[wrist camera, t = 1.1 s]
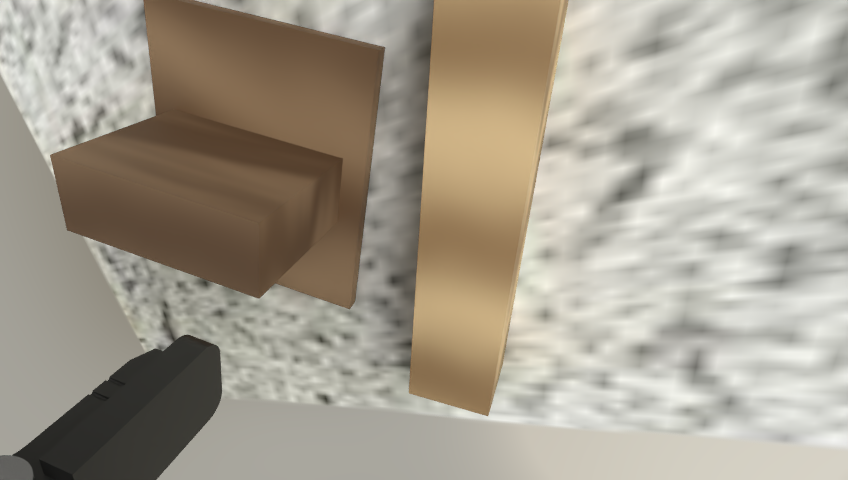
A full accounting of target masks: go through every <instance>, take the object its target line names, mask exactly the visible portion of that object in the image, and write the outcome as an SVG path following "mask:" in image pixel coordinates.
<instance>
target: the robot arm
mask: <svg viewBox="0 0 848 480" xmlns="http://www.w3.org/2000/svg"><path fill="white" fill-rule="evenodd" d="M221 395H222V382H221V362H220V350H219V347H218V346H216V345H214V344H211V343H209V342H206V341H203V340H201V339H198V338H196V337H193V336H191V335H184V336H181V337H180V338H178V339H177V340H176V341H175V342H173V343H172V344H171V345H170V346H169V347H168V348H167V349H165V350H164V351H160V350H158V349H153V350H151V351H149V352H147V353H145V354H143V355H140V356H138V357H136V358H134V359H132V360H130V361H129V362H127V363H126V364H125V365H124V366H122V367H121V368H120V369H119V370H117V371H116V372H115V373H114V374H113V375H111V376H110V378H109V380H108V381H104V382H103V383H102V384H100V385H99V386H98V387H97V388H96V389H94V390H93V392H92V394H91V395H87V396H86V397H85V398H83V399H82V400H81V401H80V402H79V403H77V404H76V405H75V406H74V407H73V408H71V409H70V410H69V411H68V412H66V413H65V414H64V415H63V416H62V417H60V418H59V419H58V420H57V421H56V422H54V423H53V424H52V425H51V426H49V427H48V428H47V429H46V430H45V431H43V432H42V433H41V434H40V435H39V436H37V437H36V438H35V439H34V440H32V441H31V442H30V443H29V444H28V445H26V446H25V447H24V448H22V449H21V450H20V451H18V452H17V453H15V454H13V455H12V456H11V455H2V456H0V480H156V479H157V478H158V477H159V476H160V475H161V474H162V473H163V471H164V470H165V469H166V468H167V467H168V466H169V465H170V463H171V462H172V461H173V460H174V459H175V458H176V457H177V456H178V454H179V453H180V452H181V451H182V450H183V449H184V448H185V447H186V445H187V444H188V443H189V442H190V441H191V440H192V439H193V438H194V436H195V435H196V434H197V433H198V432H199V431H200V430H201V429H202V427H203V426H204V425H205V424H206V423H207V422H208V420H210V418H211V417H212V416H213V414H214V413H215V411H216V409H217V407H218V405H219V402H220V399H221Z"/></svg>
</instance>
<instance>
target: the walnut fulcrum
mask: <svg viewBox="0 0 848 480" xmlns="http://www.w3.org/2000/svg"><path fill="white" fill-rule="evenodd" d="M144 9H145V18H146V27H147V36H148V45H149V55H150V64H151V73H152V82H153V91H154V100H155V110H156V116H155V117H152V118H149V119H147V120H144V121H141V122H138V123H136V124H133V125H130V126H128V127H125V128H122V129H119V130H117V131H114V132H111V133H109V134H106V135H103V136H100V137H98V138H95V139H92V140H89V141H87V142H84V143H81V144H79V145H76V146H73V147H70V148H68V149H65V150H62V151H60V152H57V153H54V154H51V155H50V157H51V161H52V165H53V170H54V174H55V178H56V183H57V187H58V192H59V196H60V200H61V205H62V209H63V214H64V218H65V222H66V227H67V230H68V231H71V232H74V233H77V234H80V235H82V236H85V237H88V238H91V239H93V240H96V241H99V242H102V243H105V244H107V245H110V246H113V247H116V248H119V249H121V250H124V251H127V252H130V253H133V254H135V255H138V256H141V257H144V258H147V259H149V260H152V261H155V262H158V263H161V264H163V265H166V266H169V267H172V268H175V269H177V270H180V271H183V272H186V273H189V274H192V275H194V276H197V277H200V278H203V279H206V280H208V281H211V282H214V283H217V284H220V285H222V286H225V287H228V288H231V289H234V290H236V291H239V292H242V293H245V294H248V295H250V296H253V297H256V298H260V297H261V296H262V295H263V294H264V293H265V292H266V291H267V290H268V289H270V288H271V287H272V286H273V285H274V284H275V283H276V284H279V285H282V286H285V287H288V288H290V289H293V290H296V291H299V292H302V293H305V294H308V295H311V296H313V297H316V298H319V299H322V300H325V301H328V302H331V303H334V304H336V305H339V306H342V307H345V308H348V309H350V308H351V307H352V305H353V304H354V302H355V296H356V288H357V279H358V271H359V263H360V254H361V246H362V237H363V229H364V220H365V212H366V203H367V195H368V186H369V178H370V169H371V161H372V152H373V144H374V135H375V127H376V118H377V110H378V101H379V93H380V84H381V76H382V67H383V59H384V50H385V47H381V46H377V45H373V44H369V43H365V42H361V41H357V40H353V39H349V38H345V37H340V36H336V35H332V34H328V33H324V32H320V31H316V30H312V29H308V28H304V27H300V26H296V25H292V24H288V23H283V22H279V21H275V20H271V19H267V18H263V17H259V16H255V15H251V14H247V13H243V12H239V11H235V10H231V9H227V8H222V7H218V6H214V5H210V4H206V3H202V2H198V1H194V0H144Z"/></svg>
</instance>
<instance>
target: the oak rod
mask: <svg viewBox="0 0 848 480" xmlns="http://www.w3.org/2000/svg"><path fill="white" fill-rule="evenodd" d="M567 6H568V0H434V11H433V26H432V42H431V57H430V73H429V88H428V104H427V119H426V135H425V150H424V166H423V181H422V197H421V212H420V227H419V243H418V258H417V274H416V289H415V305H414V320H413V336H412V351H411V367H410V382H409V393H410V394H413V395H417V396H420V397H424V398H427V399H431V400H434V401H437V402H441V403H444V404H448V405H451V406H455V407H458V408H462V409H465V410H469V411H472V412H475V413H479V414H482V415H486V416H488V415H489V411H490V408H491V404H492V400H493V397H494V393H495V390H496V386H497V382H498V379H499V375H500V372H501V368H502V364H503V359H504V353H505V347H506V342H507V336H508V331H509V325H510V320H511V314H512V309H513V303H514V298H515V292H516V287H517V281H518V276H519V270H520V265H521V259H522V254H523V248H524V243H525V237H526V232H527V226H528V221H529V215H530V210H531V204H532V199H533V193H534V188H535V182H536V177H537V171H538V166H539V160H540V155H541V149H542V144H543V138H544V132H545V127H546V121H547V116H548V110H549V105H550V99H551V94H552V88H553V83H554V77H555V72H556V66H557V61H558V55H559V50H560V44H561V39H562V33H563V28H564V22H565V17H566V11H567Z"/></svg>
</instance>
